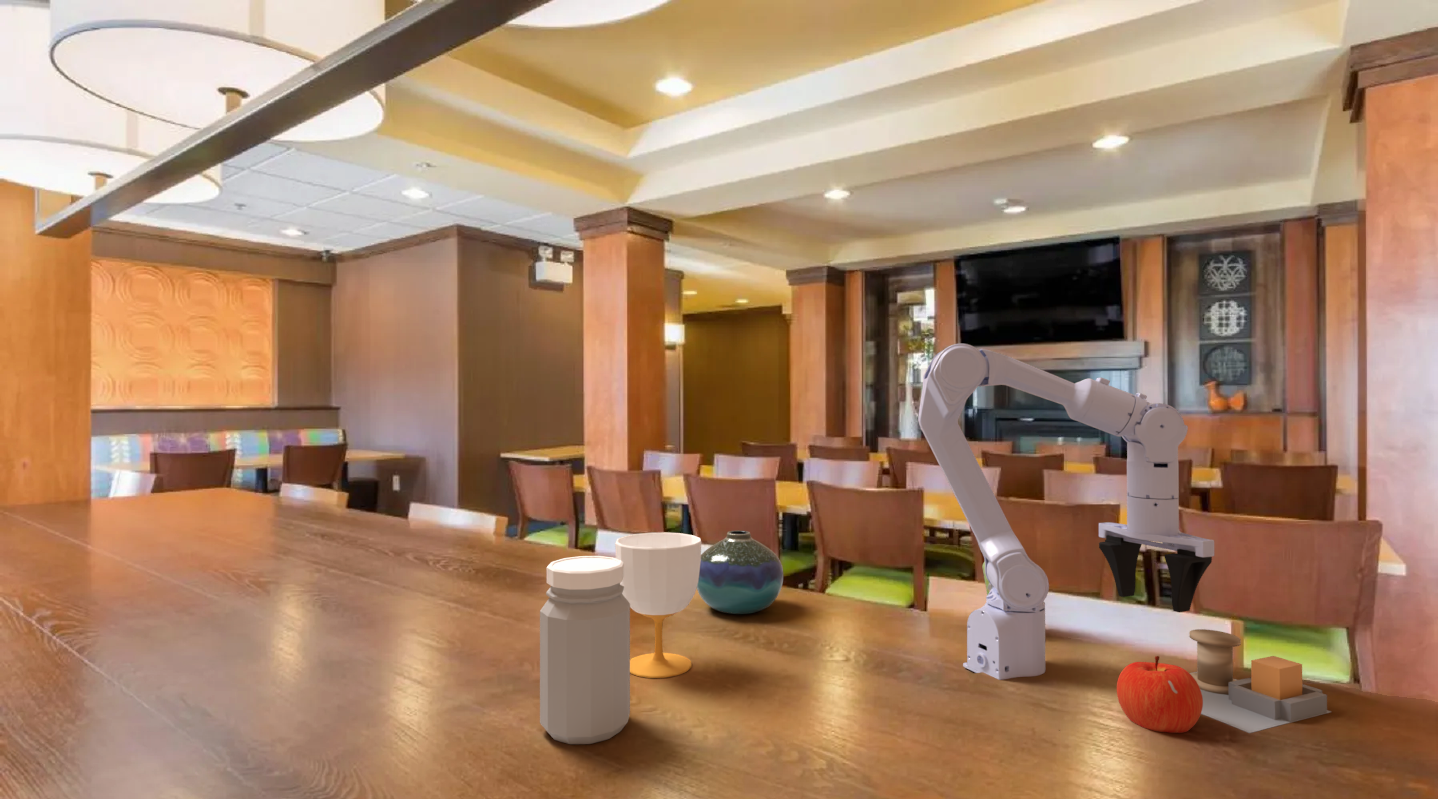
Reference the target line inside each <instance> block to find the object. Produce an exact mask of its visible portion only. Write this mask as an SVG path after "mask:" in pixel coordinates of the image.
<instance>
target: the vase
mask: <svg viewBox="0 0 1438 799" xmlns="http://www.w3.org/2000/svg"><path fill="white" fill-rule="evenodd" d="M783 582H784V569H783V565H782V562H781V560H780V558H779V557H778V555H777V554H776V553H775V552H774V551H773V550H772V549H770V548H769V547H768V546H766V545H765V544H763V543H761V542H760V541H758V540H756V539H755V538H753V537H752V536H751V532H750V531H747V530H731V531H727V533H726V537H725V538H723V539H722V540H720V541H718V542H716V543H714V544H713V545H711V546H710V547H707V549H706V550H704V551H703V552H701V562H700V571H699V579H698V584H697V588H696V591H697V592H698V595H699V596H700V598H701V599H702V600H703V602H704V603H705V604H706V605H708V607H710V608H711V609H714V610H715V611H718V612H721V613H724V614H730V615H748V614H755V613H759V612H761V611H763V610H765V609H766V608H768V607H770V606H771V605H772V604H773V603H774V602H775V600H776V599H777V598H778V596H779V594H780V592H781V590H782V588H783V587H782V586H783Z"/></svg>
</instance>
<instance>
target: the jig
mask: <svg viewBox="0 0 1438 799" xmlns="http://www.w3.org/2000/svg"><path fill="white" fill-rule="evenodd" d="M1189 673H1190V674H1191V673H1192V672H1189ZM1193 673H1197V671H1194V672H1193ZM1234 679H1235V680H1237V681H1232V682H1229V695H1225V694H1217V693H1212V692H1207V691H1204V690H1201V689H1200V690H1201V694H1202V698H1203V707H1202V712H1201V715H1203V716H1205V717H1208V718H1211V719H1213V720H1216V721H1217V722H1221V723H1223V724H1225V725H1228V726H1231V727H1233V728H1236V729H1238V730H1240V731H1242V732H1244V733H1245V732H1246V733H1248V734H1253V733H1256V732H1260V731H1264V730H1267V729H1271V728H1276V727H1279V726H1283V725H1287V724H1291V723H1294V722H1298V721H1302V720H1306V719H1310V718H1314V717H1318V716H1321V715H1325V714H1326V715H1327V714H1329V713H1332V711H1331V710H1328V694H1325V693H1323V690H1322V689H1319V688H1317V687H1314V686H1311V685H1306V684H1305V683H1302V695H1300V696H1296V697H1292V698H1288V699H1284V700H1278V699H1276V698H1273V697H1270V696H1267V695H1264V694H1261V693H1258V692H1255V691H1252V689H1251V677H1246V678H1241V679H1236V678H1234Z"/></svg>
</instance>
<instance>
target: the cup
mask: <svg viewBox="0 0 1438 799" xmlns="http://www.w3.org/2000/svg"><path fill="white" fill-rule="evenodd" d="M614 545H615V546H614V547H615V558H616V559H618V560H621V561H622V562H624V578H623V580H622V582H621V583H620V585H622V586H624V590H623V593H622V594H623V595H624V597H625V598H626V599H627V600H628V602H629V603H630V610H631V609H632V611H633V612H635V613H638V614H640V615H641V616H644V617H647V618H649V619H652V620H653V622H654V652H651V653H645V654H640V655H637V656H635V657H632V658H630V675H634V676H637V677H639V678H647V679H666V678H672V677H677V676H680V675H682V674H685V673H687V672H688V671H689V670H690V669H691V668H692V667H693V666H692V661H691V660H690V659H689V658H687V656H684V655H681V654H678V653H670V652H664V651H663V647H664V646H663V624H664V623H663V622H664V621H665V619H667V618H669V617H672V616H674V615H676V614H678V613H680V612H682V611H684V610H685V609H686V608H687V606H689V605H690V603H691V602H692V599H694V596H695V594H696V591H697V584H698V579H699V571H700V562H701V554H702V540H701V537H698V536H696V535H694V534H693V535H692V534H688V533H682V532H681V533H680V532H645V533H634V534H630V535H625V536H622V537H618V538H616V541H615V542H614Z"/></svg>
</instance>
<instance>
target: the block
mask: <svg viewBox="0 0 1438 799" xmlns="http://www.w3.org/2000/svg"><path fill="white" fill-rule="evenodd" d="M1250 662H1251V663H1250V664H1251V665H1250V668H1251V670H1250V672H1251V676H1250V678H1251V689H1252V691H1255V692H1258V693H1261V694H1264V695H1267V696H1270V697H1273V698H1276V699H1278V700H1284V699H1288V698H1292V697H1296V696H1300V695H1302V684H1303V663H1299V662H1296V661H1293V660H1289V659H1286V658H1282V657H1279V656H1276V655H1271V656H1266V657H1262V658H1256V659H1252V660H1251V661H1250Z"/></svg>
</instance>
